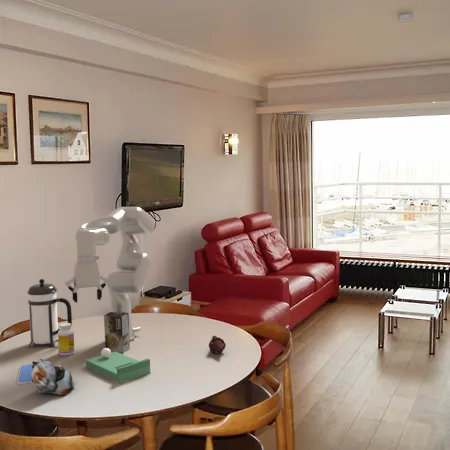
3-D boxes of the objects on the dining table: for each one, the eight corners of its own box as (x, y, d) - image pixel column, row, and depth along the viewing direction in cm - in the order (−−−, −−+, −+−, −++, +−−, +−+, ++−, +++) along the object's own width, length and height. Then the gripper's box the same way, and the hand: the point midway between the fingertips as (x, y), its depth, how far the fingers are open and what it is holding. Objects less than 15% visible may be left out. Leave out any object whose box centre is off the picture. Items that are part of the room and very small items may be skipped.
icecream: (231, 342, 233) (222, 335, 248) (214, 339, 231) (206, 332, 246) (227, 358, 233) (219, 350, 248) (210, 356, 231) (203, 348, 246)
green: (115, 358, 235) (115, 345, 234) (150, 372, 218) (149, 359, 217) (85, 367, 225) (85, 354, 224) (119, 382, 208) (119, 368, 207)
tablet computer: (52, 382, 211) (51, 378, 211) (16, 386, 208) (16, 382, 208) (52, 364, 230) (52, 361, 230) (20, 368, 226) (19, 365, 226)
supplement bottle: (70, 356, 238) (68, 326, 237) (55, 355, 240) (54, 326, 238) (77, 351, 245) (76, 322, 243) (63, 350, 246) (61, 321, 245)
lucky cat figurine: (77, 394, 198) (59, 366, 191) (44, 410, 196) (25, 383, 189) (72, 369, 211) (55, 342, 204) (42, 384, 209) (24, 357, 202)
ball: (107, 355, 230) (107, 345, 229) (113, 357, 227) (112, 348, 226) (99, 357, 227) (98, 348, 226) (104, 360, 224) (104, 350, 223)
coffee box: (130, 348, 248) (129, 312, 246) (123, 353, 242) (122, 316, 240) (112, 346, 251) (111, 311, 249) (104, 351, 244) (103, 314, 243)
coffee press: (36, 351, 245) (33, 284, 242) (22, 343, 257) (18, 279, 254) (73, 343, 256) (70, 278, 253) (58, 335, 268) (55, 273, 265)
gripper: (104, 257, 238) (105, 297, 239) (63, 259, 230) (64, 301, 231) (109, 259, 231) (110, 300, 233) (67, 262, 223) (68, 304, 225)
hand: (87, 300), depth 232 cm, fingers open, 9 cm apart
